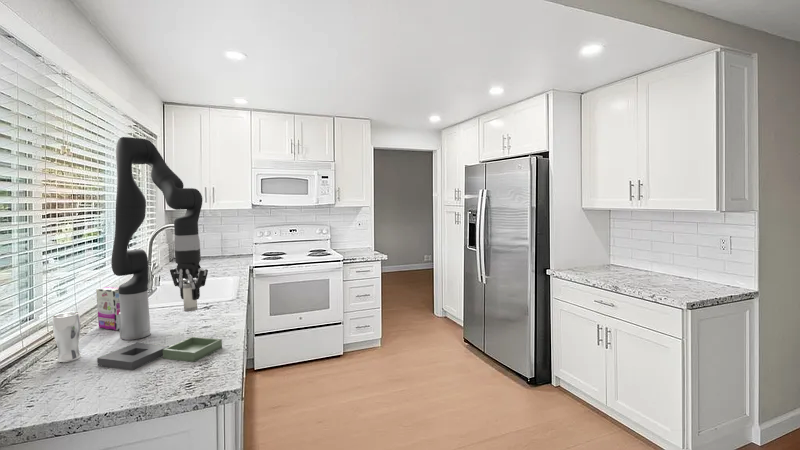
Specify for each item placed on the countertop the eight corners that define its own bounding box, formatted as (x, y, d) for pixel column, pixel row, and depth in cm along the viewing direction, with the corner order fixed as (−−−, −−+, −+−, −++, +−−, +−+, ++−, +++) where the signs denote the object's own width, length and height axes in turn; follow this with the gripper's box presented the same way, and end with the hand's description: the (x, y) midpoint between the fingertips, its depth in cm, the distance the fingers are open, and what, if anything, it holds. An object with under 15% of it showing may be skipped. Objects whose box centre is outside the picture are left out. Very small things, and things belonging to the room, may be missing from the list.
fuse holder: (97, 365, 128) (97, 358, 128) (137, 349, 142) (136, 342, 141) (132, 370, 124) (131, 362, 124) (169, 353, 138) (169, 345, 138)
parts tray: (163, 358, 133) (162, 349, 133) (192, 344, 145) (192, 336, 145) (194, 361, 130) (194, 352, 130) (222, 347, 142) (221, 339, 142)
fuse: (181, 311, 135) (179, 284, 134) (190, 308, 139) (189, 282, 138) (191, 311, 134) (189, 285, 133) (200, 308, 138) (198, 282, 137)
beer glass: (52, 364, 130) (49, 318, 128) (59, 357, 136) (55, 313, 135) (80, 360, 133) (76, 315, 132) (84, 353, 139) (81, 310, 138)
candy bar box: (128, 327, 167) (125, 288, 166) (116, 331, 162) (113, 290, 161) (110, 324, 171) (108, 286, 170) (98, 328, 166) (95, 288, 165)
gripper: (161, 249, 133) (164, 300, 135) (196, 250, 129) (199, 303, 131) (179, 246, 141) (182, 295, 142) (213, 247, 137) (216, 297, 138)
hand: (190, 298), depth 136 cm, fingers closed on fuse, 4 cm apart
